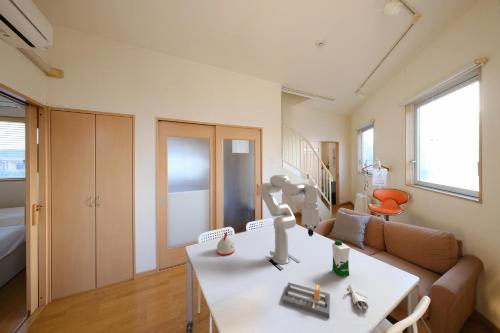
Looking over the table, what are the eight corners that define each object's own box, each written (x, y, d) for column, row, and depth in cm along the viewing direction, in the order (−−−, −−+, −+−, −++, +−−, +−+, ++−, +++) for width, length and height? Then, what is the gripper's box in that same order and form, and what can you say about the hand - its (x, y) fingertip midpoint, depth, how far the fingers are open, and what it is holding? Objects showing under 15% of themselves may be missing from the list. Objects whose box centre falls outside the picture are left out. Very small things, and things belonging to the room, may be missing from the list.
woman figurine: (350, 302, 86) (338, 281, 104) (350, 312, 86) (338, 289, 104) (377, 306, 84) (360, 283, 102) (377, 316, 84) (360, 291, 102)
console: (282, 302, 92) (282, 296, 92) (288, 285, 105) (288, 280, 104) (329, 318, 83) (329, 311, 83) (329, 297, 95) (329, 291, 95)
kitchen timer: (235, 248, 151) (235, 230, 151) (232, 256, 137) (232, 237, 137) (219, 247, 152) (219, 229, 152) (214, 255, 139) (214, 236, 138)
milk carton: (341, 268, 122) (341, 238, 122) (351, 276, 113) (352, 244, 113) (330, 270, 120) (330, 240, 119) (340, 278, 111) (340, 246, 110)
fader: (313, 300, 90) (313, 288, 90) (314, 295, 94) (314, 283, 94) (320, 302, 89) (320, 290, 89) (320, 297, 93) (320, 285, 92)
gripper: (297, 205, 109) (297, 235, 109) (323, 208, 102) (323, 240, 103) (299, 203, 115) (299, 231, 116) (324, 205, 109) (324, 235, 110)
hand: (310, 235), depth 109 cm, fingers closed
